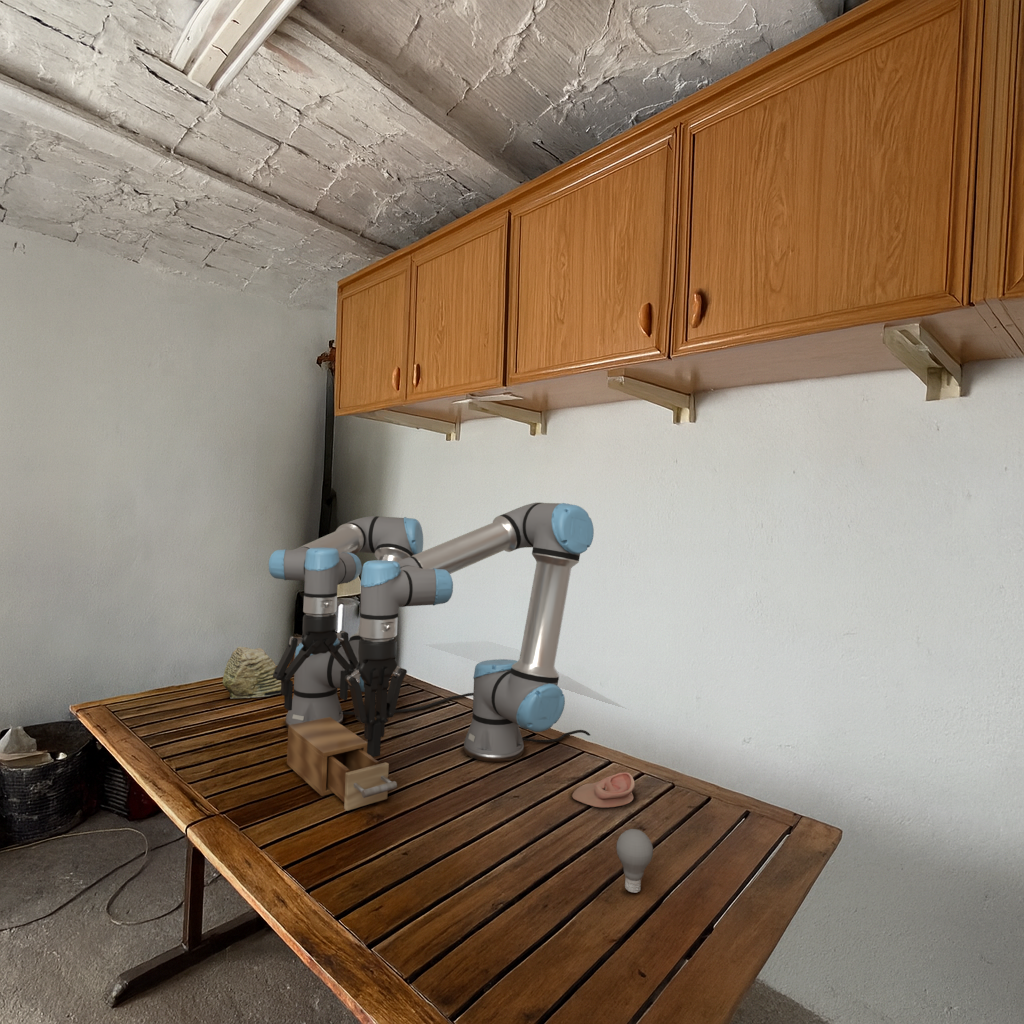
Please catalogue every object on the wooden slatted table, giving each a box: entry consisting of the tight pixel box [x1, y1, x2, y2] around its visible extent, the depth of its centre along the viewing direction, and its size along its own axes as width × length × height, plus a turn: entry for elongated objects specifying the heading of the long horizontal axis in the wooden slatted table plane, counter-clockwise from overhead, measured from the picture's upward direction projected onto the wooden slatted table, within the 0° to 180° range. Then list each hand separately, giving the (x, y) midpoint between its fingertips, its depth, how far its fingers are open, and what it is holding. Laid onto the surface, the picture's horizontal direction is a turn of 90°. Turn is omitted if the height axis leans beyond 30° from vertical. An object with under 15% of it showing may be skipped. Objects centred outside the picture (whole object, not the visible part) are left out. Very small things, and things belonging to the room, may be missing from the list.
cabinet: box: [286, 717, 368, 797], centre depth 145 cm, size 20×10×9 cm, turn 40°
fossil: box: [222, 646, 281, 699], centre depth 198 cm, size 9×18×15 cm, turn 132°
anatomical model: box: [571, 771, 636, 809], centre depth 139 cm, size 13×4×12 cm
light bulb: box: [615, 828, 654, 894], centre depth 106 cm, size 6×6×10 cm
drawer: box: [326, 749, 398, 812], centre depth 134 cm, size 24×9×7 cm, turn 40°
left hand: (316, 703), depth 149 cm, fingers open, 13 cm apart
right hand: (373, 753), depth 128 cm, fingers closed
